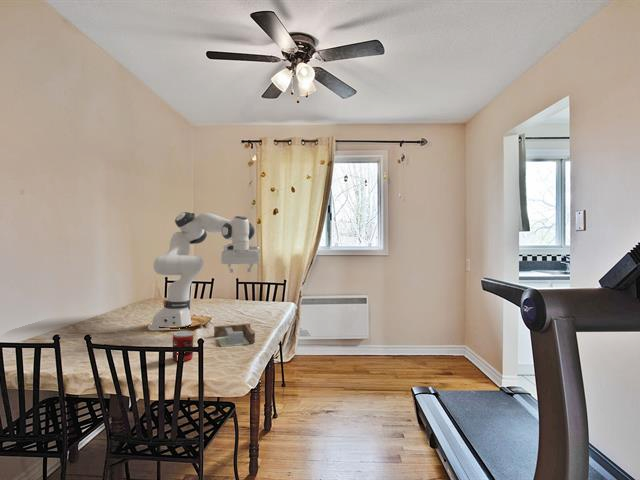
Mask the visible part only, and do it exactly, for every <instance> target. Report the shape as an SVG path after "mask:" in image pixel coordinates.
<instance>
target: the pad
mask: <svg viewBox="0 0 640 480" xmlns="http://www.w3.org/2000/svg"><path fill="white" fill-rule="evenodd" d="M216 339H217V341H218V344H219V345H220V347H221V348H222V347H223V348H225V347H230V346H231V347H233V346H242V345H244V346H245V345H250V342H249V340H248V339H247V337H246V336H245V335H243V343H239V344H230V345H228V343H227V341H226V339H225V336H221V337H216Z"/></svg>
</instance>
